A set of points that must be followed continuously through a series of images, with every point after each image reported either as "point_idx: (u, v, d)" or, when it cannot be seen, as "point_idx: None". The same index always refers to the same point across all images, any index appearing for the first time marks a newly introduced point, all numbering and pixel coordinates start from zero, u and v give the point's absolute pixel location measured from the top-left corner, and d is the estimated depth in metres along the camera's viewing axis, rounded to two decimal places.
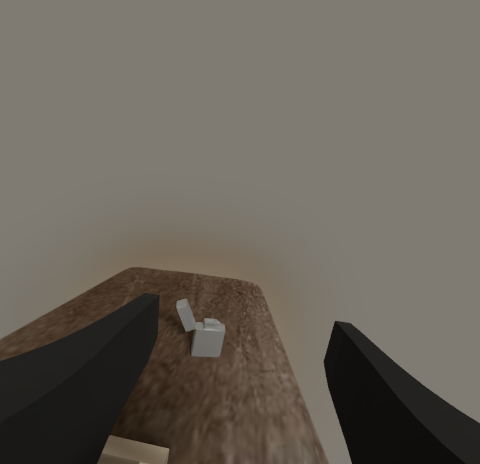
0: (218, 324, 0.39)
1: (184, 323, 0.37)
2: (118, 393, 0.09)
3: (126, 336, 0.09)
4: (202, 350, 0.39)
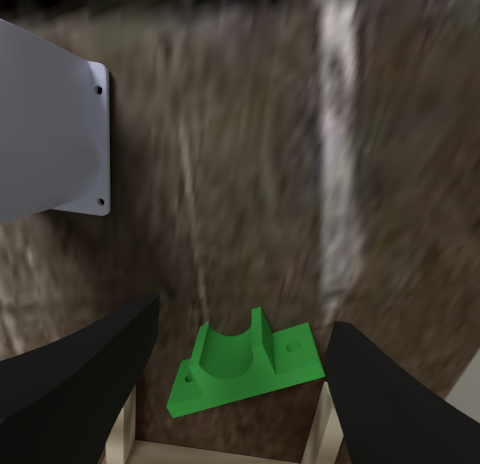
0: None
1: None
2: (118, 393, 0.09)
3: (126, 336, 0.09)
4: None
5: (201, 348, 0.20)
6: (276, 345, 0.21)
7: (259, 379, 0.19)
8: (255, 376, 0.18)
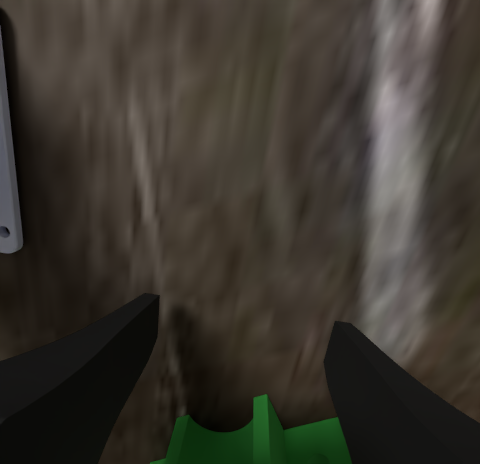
0: None
1: None
2: (118, 393, 0.09)
3: (126, 336, 0.09)
4: None
5: None
6: (290, 459, 0.14)
7: None
8: None
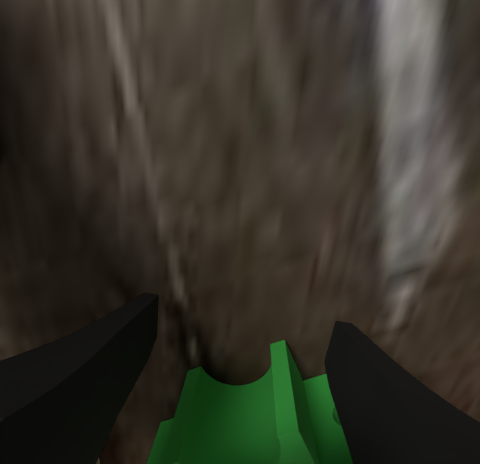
0: None
1: None
2: (117, 393, 0.09)
3: (125, 336, 0.09)
4: None
5: (185, 422, 0.11)
6: (313, 408, 0.12)
7: None
8: None
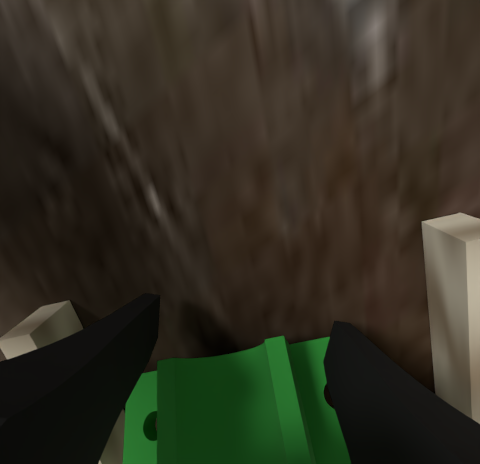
0: None
1: None
2: (119, 393, 0.09)
3: (126, 336, 0.09)
4: None
5: (174, 450, 0.10)
6: (303, 384, 0.12)
7: None
8: None
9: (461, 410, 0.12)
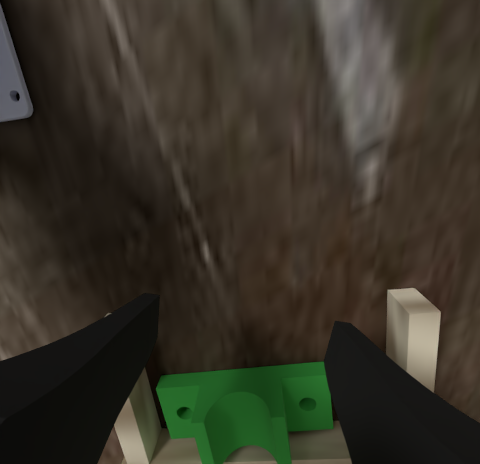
0: None
1: None
2: (118, 393, 0.09)
3: (125, 336, 0.09)
4: None
5: (212, 461, 0.16)
6: (286, 398, 0.18)
7: None
8: None
9: None
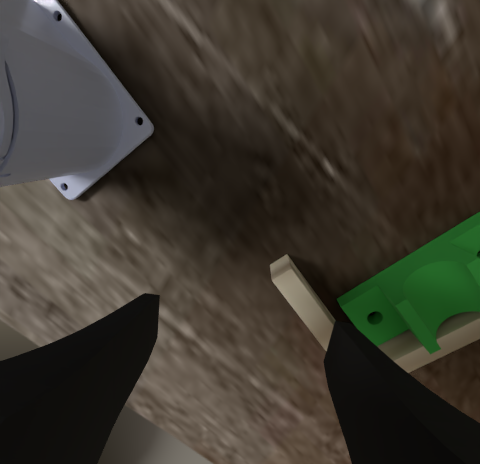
0: None
1: None
2: (118, 393, 0.09)
3: (126, 336, 0.09)
4: None
5: (429, 333, 0.17)
6: None
7: None
8: None
9: None
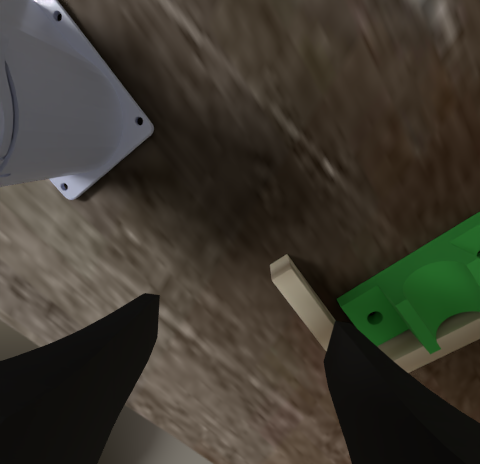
0: None
1: None
2: (118, 393, 0.09)
3: (126, 336, 0.09)
4: None
5: (429, 333, 0.17)
6: None
7: None
8: None
9: None
